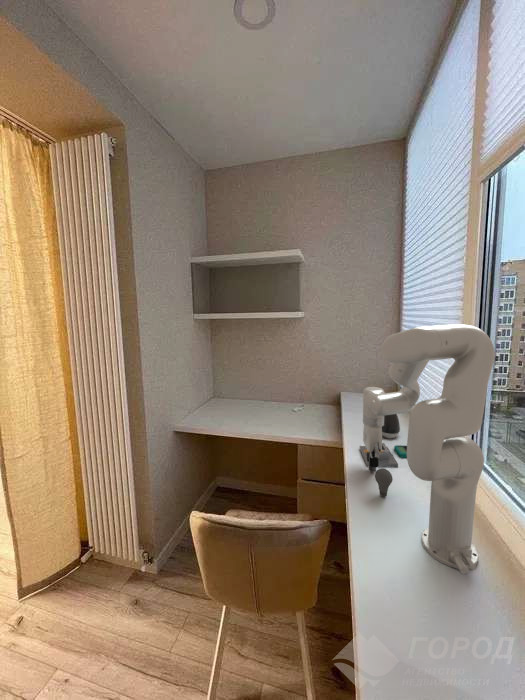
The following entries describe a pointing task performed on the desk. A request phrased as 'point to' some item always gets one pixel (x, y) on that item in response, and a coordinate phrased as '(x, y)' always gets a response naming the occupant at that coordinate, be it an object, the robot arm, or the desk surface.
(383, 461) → the block
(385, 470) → the light bulb
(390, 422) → the pump dispenser
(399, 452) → the digital multimeter
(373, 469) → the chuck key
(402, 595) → the desk surface
